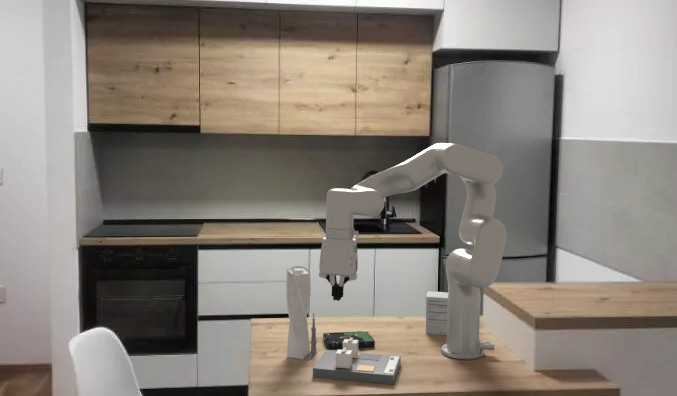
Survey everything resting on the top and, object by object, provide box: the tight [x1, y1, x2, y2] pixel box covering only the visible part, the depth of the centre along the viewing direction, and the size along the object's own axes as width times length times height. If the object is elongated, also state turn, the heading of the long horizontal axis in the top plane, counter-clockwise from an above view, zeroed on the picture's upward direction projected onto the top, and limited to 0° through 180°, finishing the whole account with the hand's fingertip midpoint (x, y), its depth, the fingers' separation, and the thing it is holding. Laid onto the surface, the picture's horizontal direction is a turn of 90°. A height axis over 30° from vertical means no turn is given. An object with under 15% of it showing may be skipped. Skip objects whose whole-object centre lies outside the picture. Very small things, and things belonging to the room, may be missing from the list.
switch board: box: [312, 349, 402, 385], centre depth 182 cm, size 22×15×3 cm
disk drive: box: [322, 330, 376, 351], centre depth 204 cm, size 10×3×15 cm
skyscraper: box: [285, 265, 319, 361], centre depth 192 cm, size 8×8×28 cm
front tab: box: [336, 348, 352, 369], centre depth 178 cm, size 4×3×5 cm
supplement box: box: [425, 290, 448, 336], centre depth 216 cm, size 7×7×13 cm
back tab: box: [343, 337, 359, 357], centre depth 186 cm, size 4×3×5 cm
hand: (337, 299), depth 180 cm, fingers closed
